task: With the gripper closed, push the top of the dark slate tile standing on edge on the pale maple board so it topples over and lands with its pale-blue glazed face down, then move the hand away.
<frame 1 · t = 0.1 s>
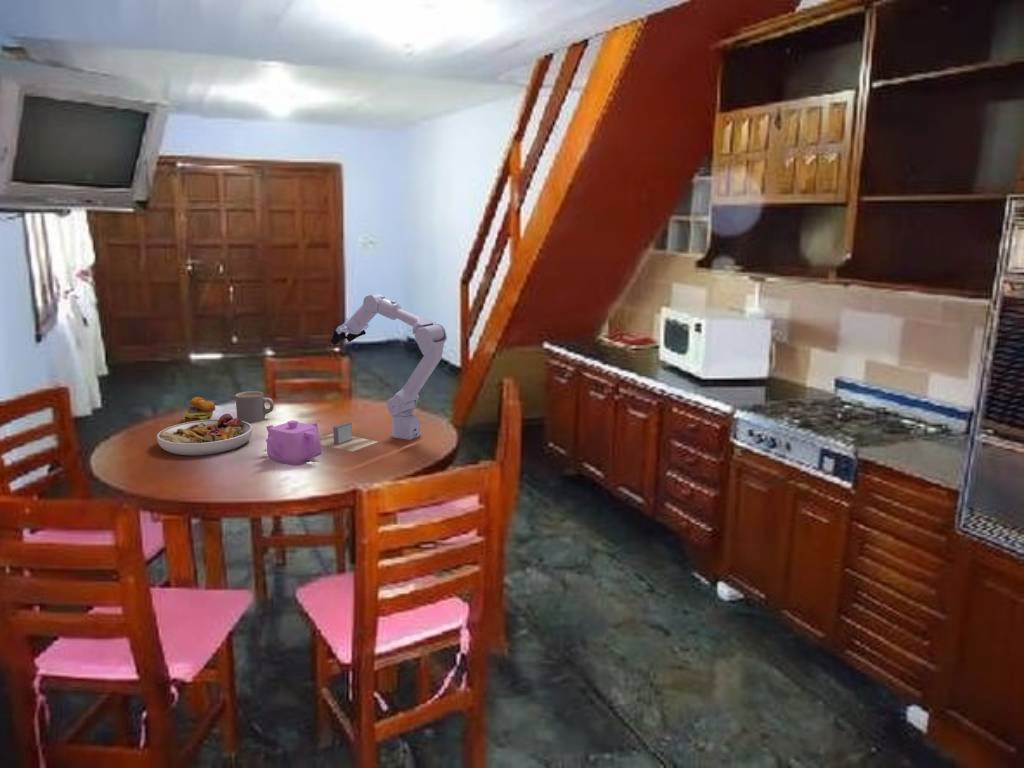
hand: (340, 341, 269), 32 cm above the table, fingers open, 7 cm apart
bowl: (206, 445, 254), on the table
teakettle: (292, 458, 240), on the table
tile: (343, 441, 254), point 1 cm above the table, touching board
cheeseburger: (199, 420, 283), on the table
coffee mug: (255, 420, 285), on the table
board: (343, 445, 254), on the table
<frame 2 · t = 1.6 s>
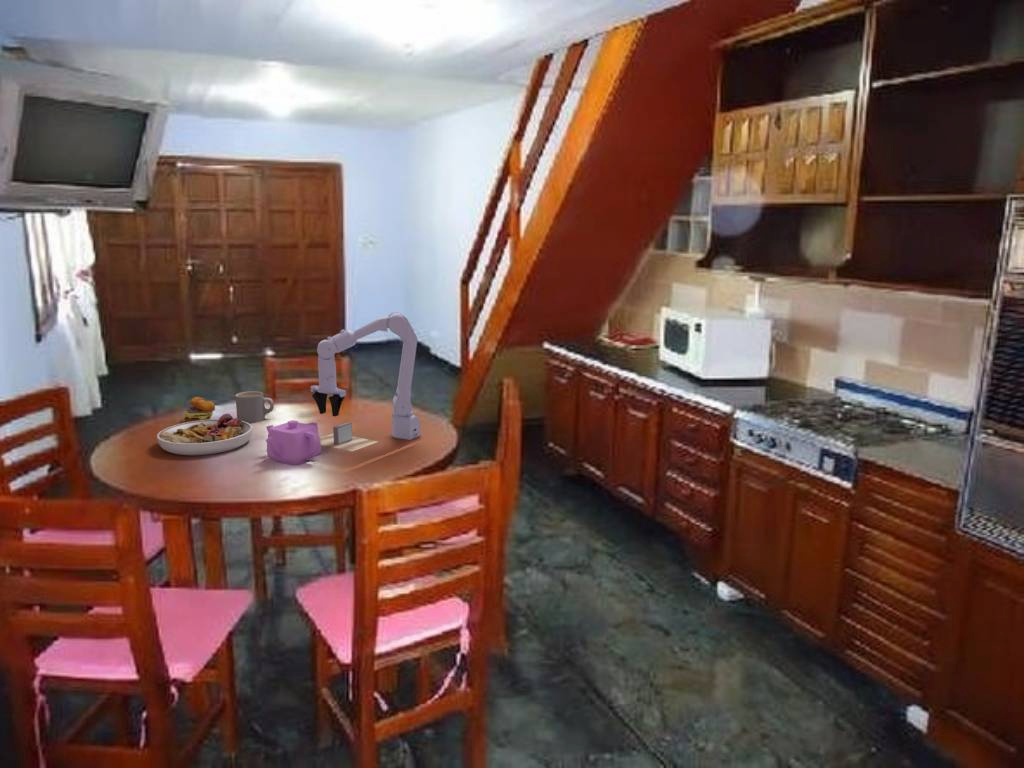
hand: (329, 414, 255), 10 cm above the table, fingers open, 5 cm apart
nothing on the table moved.
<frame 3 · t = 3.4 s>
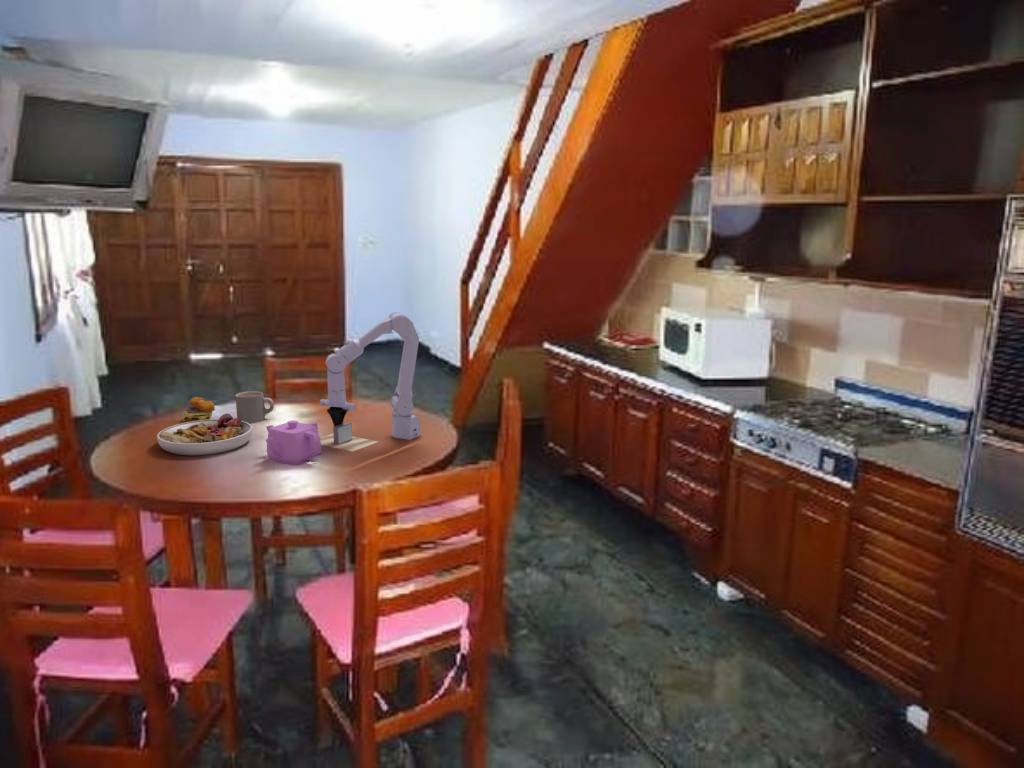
hand: (338, 428, 254), 6 cm above the table, fingers closed
tile: (343, 441, 254), point 1 cm above the table, touching board, gripper
everything else where it was.
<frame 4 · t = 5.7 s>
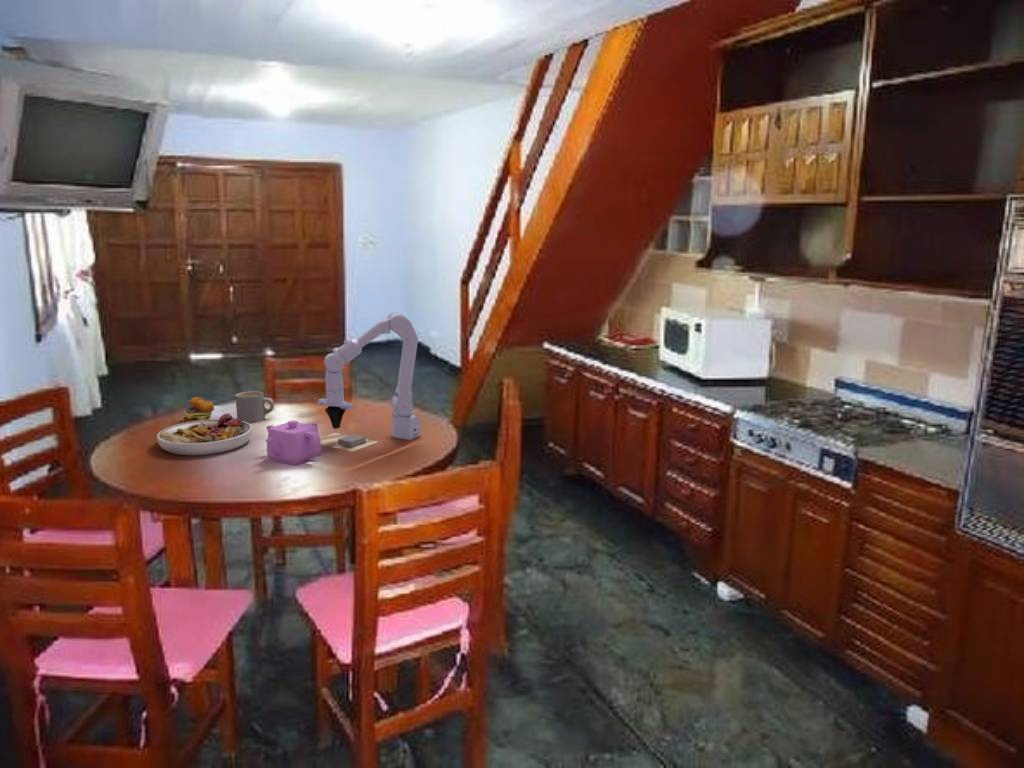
hand: (336, 427, 254), 6 cm above the table, fingers closed
tile: (345, 439, 253), point 2 cm above the table, tilted 90°, touching board
everything else where it was.
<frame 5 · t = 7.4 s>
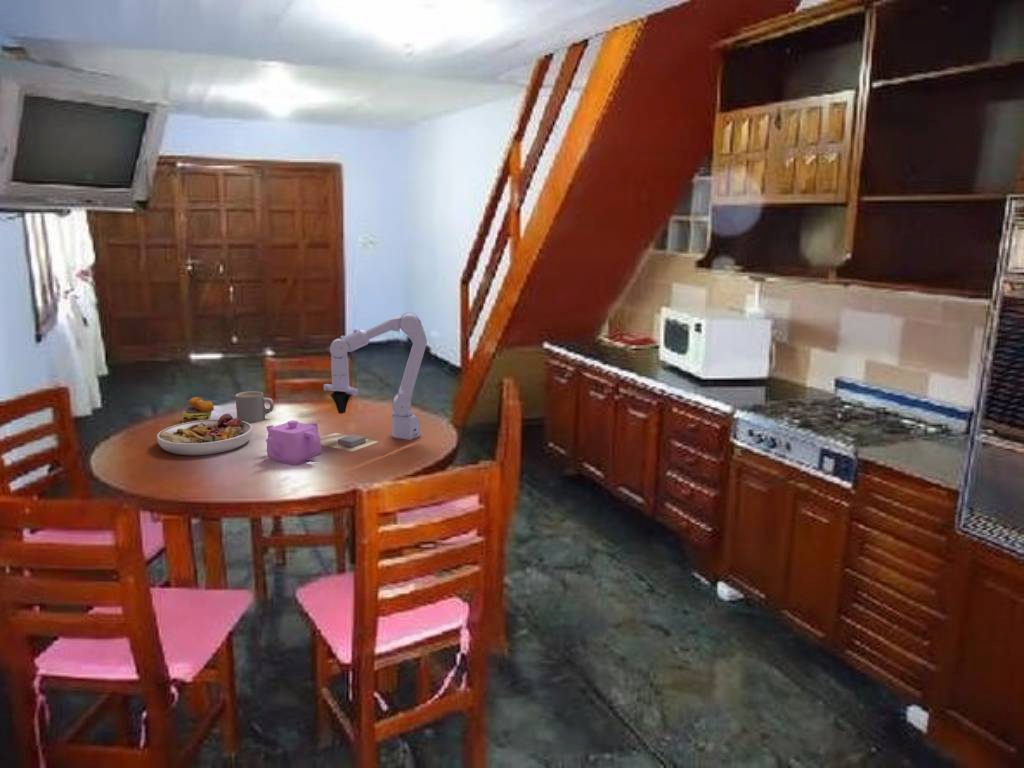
hand: (341, 412, 257), 10 cm above the table, fingers closed
nothing on the table moved.
at the end: tile tilted 90°; tile inside the target area (1.0 cm from its centre), point 2.2 cm above the table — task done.
